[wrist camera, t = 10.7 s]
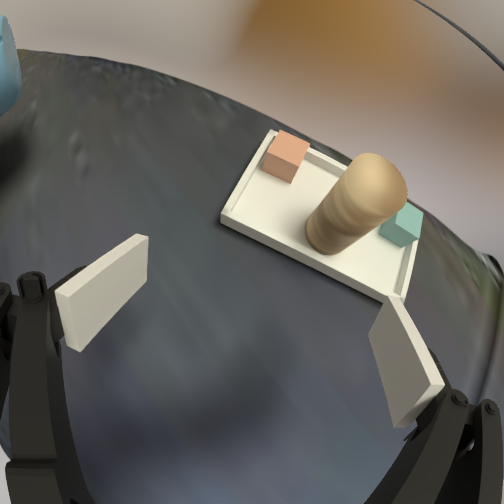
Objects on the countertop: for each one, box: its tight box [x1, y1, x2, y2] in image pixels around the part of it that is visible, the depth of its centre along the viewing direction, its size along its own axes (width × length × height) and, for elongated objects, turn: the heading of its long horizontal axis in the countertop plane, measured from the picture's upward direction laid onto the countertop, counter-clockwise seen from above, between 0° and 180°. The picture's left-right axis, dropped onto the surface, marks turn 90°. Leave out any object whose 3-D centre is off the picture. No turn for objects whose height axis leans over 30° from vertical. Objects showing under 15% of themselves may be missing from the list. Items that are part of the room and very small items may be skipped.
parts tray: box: [220, 130, 418, 304], centre depth 29 cm, size 21×12×2 cm, turn 65°
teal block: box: [379, 202, 423, 248], centre depth 28 cm, size 4×4×4 cm
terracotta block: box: [262, 130, 310, 184], centre depth 29 cm, size 4×4×4 cm
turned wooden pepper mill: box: [305, 153, 407, 255], centre depth 23 cm, size 5×5×11 cm
